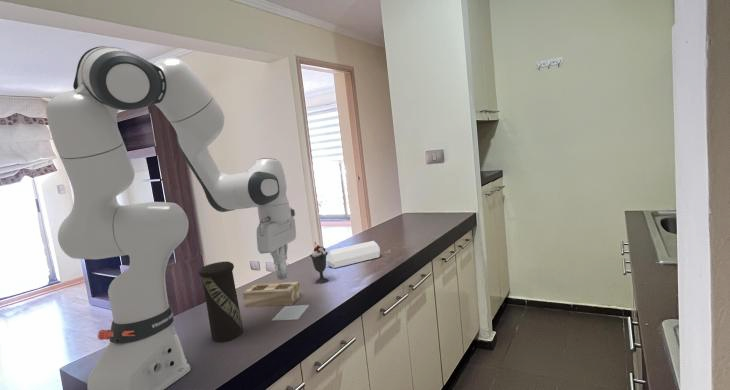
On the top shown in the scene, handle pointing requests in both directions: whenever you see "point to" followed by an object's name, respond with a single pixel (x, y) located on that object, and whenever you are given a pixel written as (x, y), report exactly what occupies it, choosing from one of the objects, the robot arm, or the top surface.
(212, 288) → the container
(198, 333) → the top surface
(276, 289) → the socket block
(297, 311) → the mat
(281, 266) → the peg
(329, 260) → the crystal
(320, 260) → the sundae
